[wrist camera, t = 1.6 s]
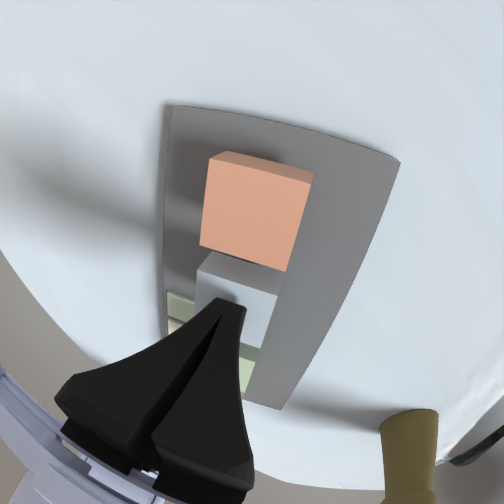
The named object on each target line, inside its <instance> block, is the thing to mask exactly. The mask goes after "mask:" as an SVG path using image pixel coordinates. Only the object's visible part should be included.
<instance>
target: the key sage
mask: <svg viewBox="0 0 504 504" xmlns="http://www.w3.org/2000/svg"><path fill="white" fill-rule="evenodd" d="M259 351H260V348H257V347H254V346H251V345H248V344H245V343H242V342H240V348H239V380H240V391H241V392H244V393H245V390H246V388H247V385H248V382H249V379H250V376H251V374H252V371H253V368H254V365H255V362H256V359H257V357H258V354H259Z"/></svg>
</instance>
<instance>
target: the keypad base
mask: <svg viewBox="0 0 504 504" xmlns="http://www.w3.org/2000/svg"><path fill="white" fill-rule="evenodd" d="M224 151H230V152H235V153H239V154H244V155H248V156H252V157H257V158H261V159H265V160H269V161H273V162H277V163H281V164H284V165H288V166H292V167H295V168H299V169H302V170H306V171H309V172H313V173H314V175H313V179H312V183H311V186H310V190H309V194H308V197H307V201H306V204H305V208H304V211H303V215H302V218H301V222H300V225H299V228H298V232H297V235H296V239H295V242H294V245H293V249H292V252H291V255H290V258H289V262H288V265H287V268H286V271H285V272H284V271H281V270H278V269H275V268H271V267H268V266H265V265H262V264H258V263H255V262H252V261H249V260H246V259H242V258H239V257H236V256H233V255H230V254H226V253H223V252H220V251H217V250H214V249H211V248H207V247H204V246H201V245H199V244H200V234H201V224H202V215H203V206H204V197H205V189H206V181H207V173H208V166H209V159H210V158H212V157H214V156H216V155H218V154H220V153H222V152H224ZM400 164H401V162H399V161H398V160H397V159H396V158H393V157H391V156H388V155H386V154H383V153H380V152H378V151H375V150H372V149H369V148H366V147H363V146H361V145H358V144H355V143H352V142H349V141H345V140H342V139H339V138H336V137H333V136H329V135H326V134H322V133H319V132H315V131H312V130H308V129H304V128H300V127H296V126H292V125H288V124H284V123H280V122H275V121H271V120H266V119H262V118H257V117H252V116H246V115H241V114H235V113H229V112H223V111H217V110H210V109H203V108H195V107H186V106H178V107H172V114H171V122H170V131H169V141H168V151H167V163H166V177H165V193H164V216H163V300H164V322H165V337H166V336H168V335H169V334H171V333H172V332H174V331H175V330H177V329H178V328H179V327H181V326H182V325H184V324H185V323H186V322H187V321H189V320H190V319H191V318H193V317H194V307H195V292H196V279H197V269H198V268H199V267H200V266H201V264H202V263H203V262H204V261H205V259H206V258H207V257H208V255H209V254H210V253H211V252H212V251H214V252H217V253H220V254H223V255H226V256H230V257H233V258H236V259H239V260H242V261H246V262H249V263H252V264H255V265H258V266H262V267H265V268H268V269H271V270H274V271H278V272H281V273H284V274H285V275H284V278H283V281H282V284H281V287H280V290H279V294H278V297H277V300H276V303H275V306H274V309H273V312H272V315H271V318H270V321H269V324H268V327H267V330H266V333H265V336H264V339H263V342H262V345H261V348H260V351H259V354H258V357H257V359H256V362H255V365H254V368H253V371H252V374H251V376H250V379H249V382H248V385H247V388H246V390H245V393H244V396H243V399H244V400H247V401H250V402H254V403H257V404H260V405H264V406H267V407H270V408H274V409H278V410H281V409H282V407H283V406H284V404H285V403H286V401H287V400H288V398H289V397H290V395H291V393H292V392H293V390H294V389H295V387H296V386H297V384H298V382H299V381H300V379H301V378H302V376H303V374H304V373H305V371H306V369H307V368H308V366H309V364H310V363H311V361H312V359H313V357H314V356H315V354H316V352H317V350H318V349H319V347H320V345H321V343H322V342H323V340H324V338H325V336H326V334H327V332H328V331H329V329H330V327H331V325H332V323H333V321H334V319H335V317H336V316H337V314H338V312H339V310H340V308H341V306H342V304H343V302H344V300H345V298H346V296H347V294H348V292H349V290H350V288H351V286H352V283H353V281H354V279H355V277H356V275H357V273H358V271H359V268H360V266H361V264H362V262H363V260H364V257H365V255H366V253H367V251H368V248H369V246H370V244H371V241H372V239H373V236H374V234H375V232H376V229H377V227H378V224H379V222H380V219H381V217H382V214H383V212H384V209H385V206H386V204H387V201H388V198H389V196H390V193H391V190H392V187H393V185H394V182H395V179H396V176H397V173H398V170H399V167H400Z"/></svg>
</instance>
